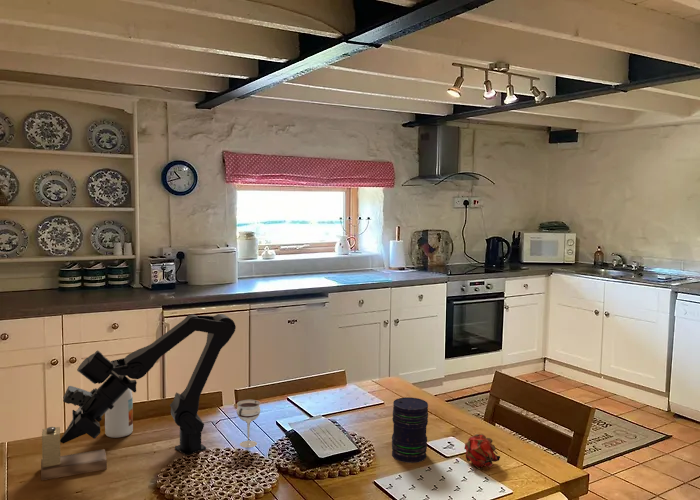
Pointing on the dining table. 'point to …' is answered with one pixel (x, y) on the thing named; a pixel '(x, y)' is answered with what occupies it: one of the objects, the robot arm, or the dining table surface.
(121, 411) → the milk bottle
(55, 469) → the body
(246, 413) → the wineglass
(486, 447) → the dragon fruit
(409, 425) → the dark blue cylinder
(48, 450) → the beige rectangular block
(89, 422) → the robot arm
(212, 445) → the dining table surface
